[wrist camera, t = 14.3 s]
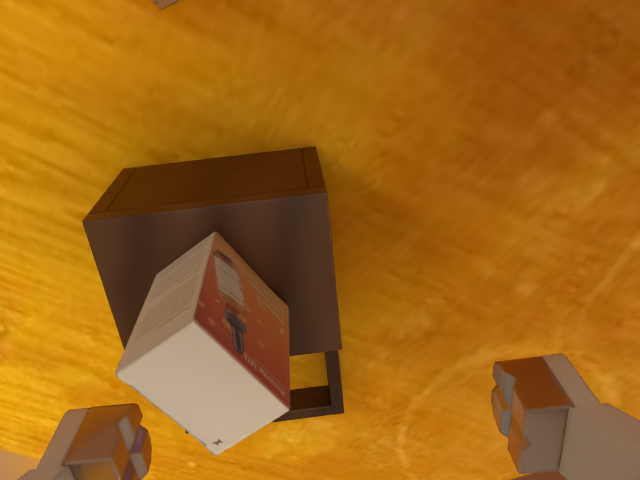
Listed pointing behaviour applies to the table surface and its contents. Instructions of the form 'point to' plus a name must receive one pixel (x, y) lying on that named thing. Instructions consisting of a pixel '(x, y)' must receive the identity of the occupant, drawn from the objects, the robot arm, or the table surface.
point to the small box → (211, 347)
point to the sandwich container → (163, 3)
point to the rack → (240, 233)
